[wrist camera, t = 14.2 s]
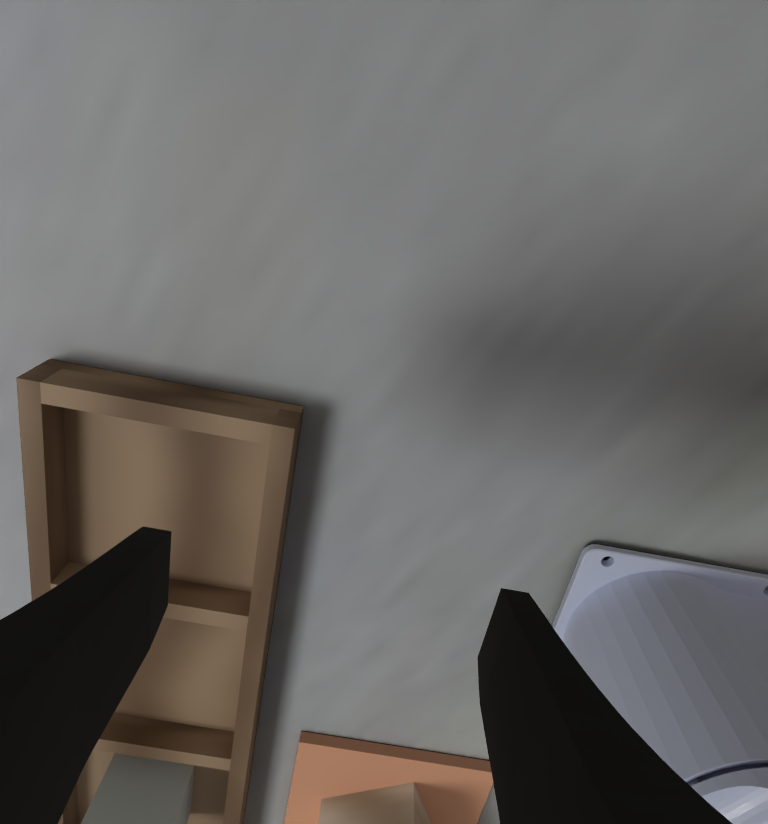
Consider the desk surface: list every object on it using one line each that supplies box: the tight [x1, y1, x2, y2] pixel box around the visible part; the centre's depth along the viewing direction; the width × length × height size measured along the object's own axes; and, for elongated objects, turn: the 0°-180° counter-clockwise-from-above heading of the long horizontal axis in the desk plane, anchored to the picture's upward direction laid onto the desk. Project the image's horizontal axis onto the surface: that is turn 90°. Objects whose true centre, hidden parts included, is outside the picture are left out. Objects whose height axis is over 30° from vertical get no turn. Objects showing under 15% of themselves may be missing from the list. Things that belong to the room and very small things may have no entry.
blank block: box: [81, 753, 195, 824], centre depth 29 cm, size 4×4×4 cm
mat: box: [284, 731, 493, 824], centre depth 31 cm, size 10×10×1 cm
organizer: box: [16, 359, 304, 824], centre depth 27 cm, size 10×27×2 cm, turn 169°
